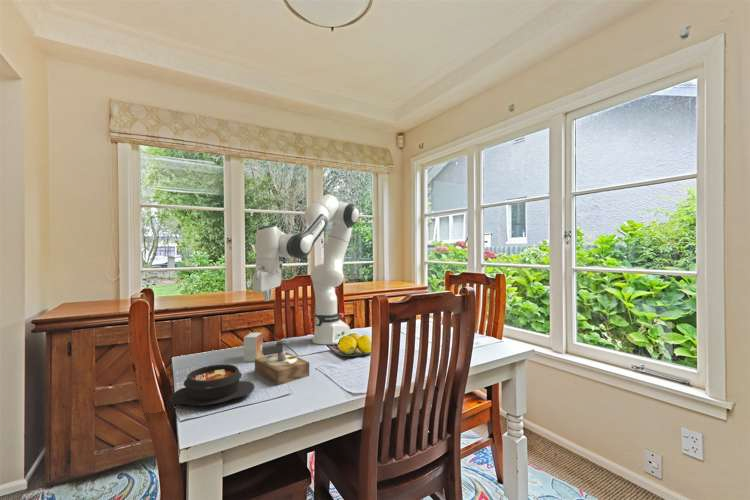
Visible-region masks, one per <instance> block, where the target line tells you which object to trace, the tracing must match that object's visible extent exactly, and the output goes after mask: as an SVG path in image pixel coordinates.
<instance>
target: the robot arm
mask: <svg viewBox="0 0 750 500" xmlns="http://www.w3.org/2000/svg"><path fill="white" fill-rule="evenodd" d="M359 218H360V210H359V207H358V206H357V205H355V204H352V203H348V202H344V201H338V199H337V198H336V197H335V196H334V195H333V194H329V193H328V194H324V195H322V196H320V197H318V198H317V199H315V200H314V201H313V202H312V203H311V204H310V205H309V206H308V207H307V208H306V210H305V211H304V219H305V221H306V224H307V225H308V226H307V228H306V229H305V230H304V231H303V232H299V233H286V232H283V231H282V230H280V229H279V228H278V226H277V225H275V224H274V225H271V224H270V225H263V226H260V227H258V228H257V230H256V234H255V250H256V256H255V271H254V273H253V276H252V285H251V288H252V291H253V293H262V295H263V301H264V302H268V301H271V300H272V295H273V289H275V288H278V287H280V286H281V284H282V278H283V277H282V274H283V273H282V270H283V268H284V267H283V263H282V262H280V257H281V258H294V259H300V260H301V259H305V258H307V257H308V256H309V255H310V253H311V251H312V248H313V246H314V245H315V243H316V242H317V240H318V239H319V238H320V237H321V236H322V234H323V232H324V231H325V230H326V228H327V226H328V222H330V223H333V226H332V228H331V229H330V231H329V234H328V237H327V239H326V242H325V246H324V249H323V256H324V257H323V262H322V263H321V264H317V265H314V267H312V268H311V270H310V272H309V273H310V275H309V276H310V280H311V282H312V287H313V292H314V298H315V299H314V300H315V313H314V332H313V337H312V343H314V344H317V345H335V344H337V345H339V344H338V341H339V339H340V338H341V337H343V336H345V335H348V334H350V333H351V329H350V326H349V325H348V324H347V323H346V322H344V321H343V320H341V318H344V316H345V314H344V313H343V312H342V313H341V312H338V296H337V294H336V291H335V288H337V287H339V286H340V285H341V284H342V283H343V281H344V277H345V275H344V271H343V270H344V262H345V261H344V260H345V256H346V252H347V249H348V246H349V243H350V240H351V236H352V230H353V226H354V225H355V224H356V223H357V222H358V220H359Z"/></svg>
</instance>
